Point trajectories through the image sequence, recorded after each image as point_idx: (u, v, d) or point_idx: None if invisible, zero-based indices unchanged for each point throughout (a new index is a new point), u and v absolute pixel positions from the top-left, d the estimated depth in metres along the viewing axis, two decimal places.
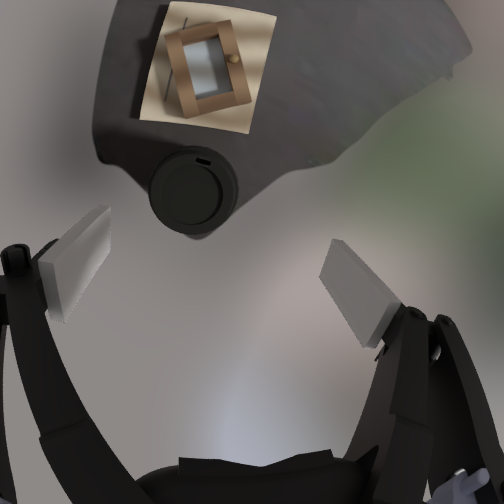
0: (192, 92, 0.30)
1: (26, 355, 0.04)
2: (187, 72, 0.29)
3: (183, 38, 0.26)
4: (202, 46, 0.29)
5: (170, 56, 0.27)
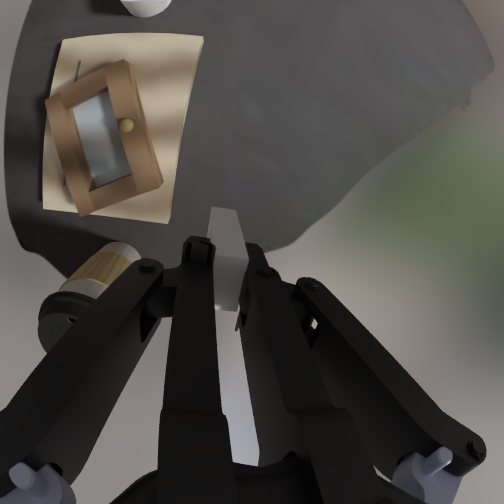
0: (82, 181, 0.21)
1: (182, 339, 0.06)
2: (73, 153, 0.20)
3: (65, 101, 0.18)
4: (95, 104, 0.20)
5: (53, 131, 0.19)
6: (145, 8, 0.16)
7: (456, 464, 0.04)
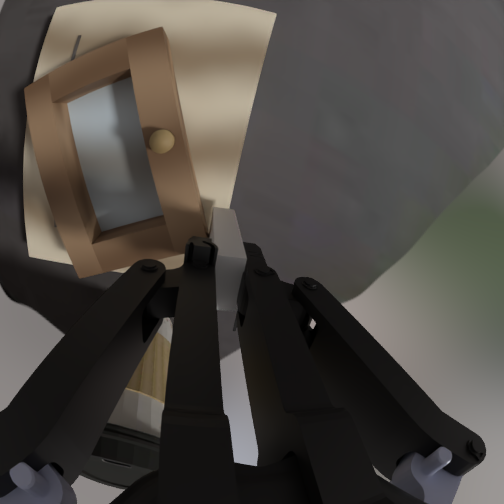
0: (81, 227, 0.14)
1: (184, 339, 0.06)
2: (66, 179, 0.12)
3: (55, 91, 0.10)
4: (104, 99, 0.12)
5: (33, 140, 0.11)
6: None
7: (455, 464, 0.04)
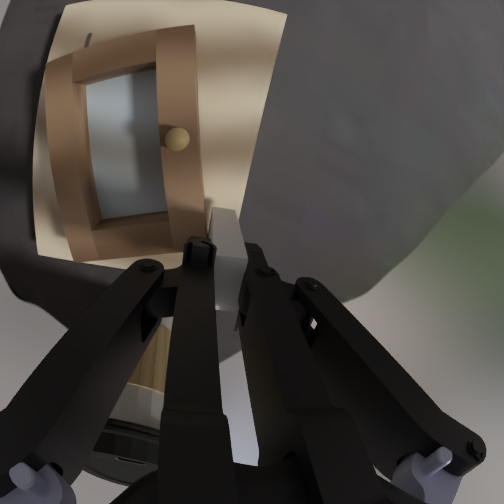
0: (83, 212, 0.14)
1: (183, 339, 0.06)
2: (75, 162, 0.12)
3: (77, 71, 0.10)
4: (123, 87, 0.12)
5: (48, 117, 0.11)
6: None
7: (456, 464, 0.04)
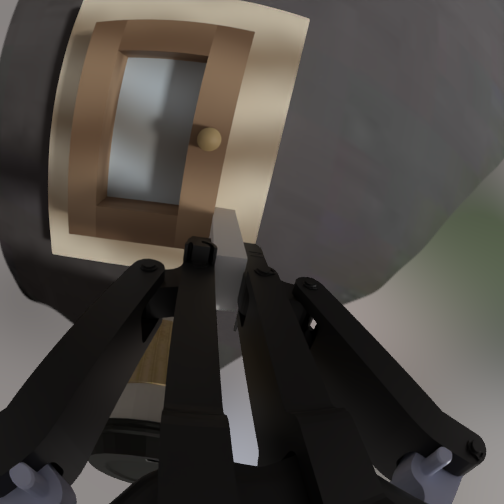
0: (93, 185, 0.13)
1: (183, 339, 0.06)
2: (98, 132, 0.12)
3: (127, 41, 0.10)
4: (165, 71, 0.13)
5: (82, 78, 0.10)
6: None
7: (456, 464, 0.04)
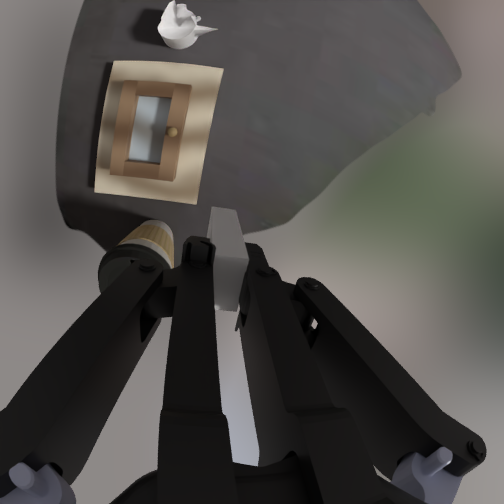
0: (124, 152, 0.31)
1: (182, 338, 0.06)
2: (127, 129, 0.30)
3: (138, 90, 0.28)
4: (155, 103, 0.30)
5: (119, 106, 0.28)
6: (180, 44, 0.27)
7: (456, 464, 0.04)
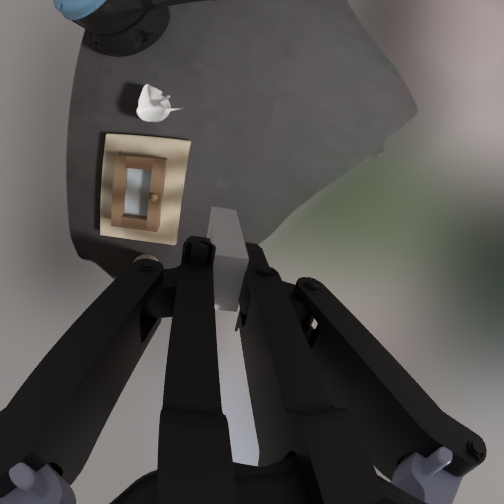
0: (120, 210, 0.44)
1: (182, 339, 0.06)
2: (121, 194, 0.43)
3: (127, 164, 0.41)
4: (141, 171, 0.44)
5: (114, 176, 0.41)
6: (156, 121, 0.41)
7: (456, 464, 0.04)
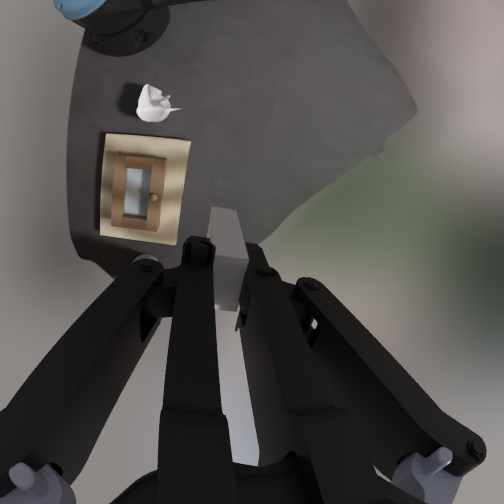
0: (120, 210, 0.44)
1: (182, 339, 0.06)
2: (121, 194, 0.43)
3: (127, 164, 0.41)
4: (140, 171, 0.44)
5: (114, 176, 0.41)
6: (156, 121, 0.41)
7: (456, 464, 0.04)
